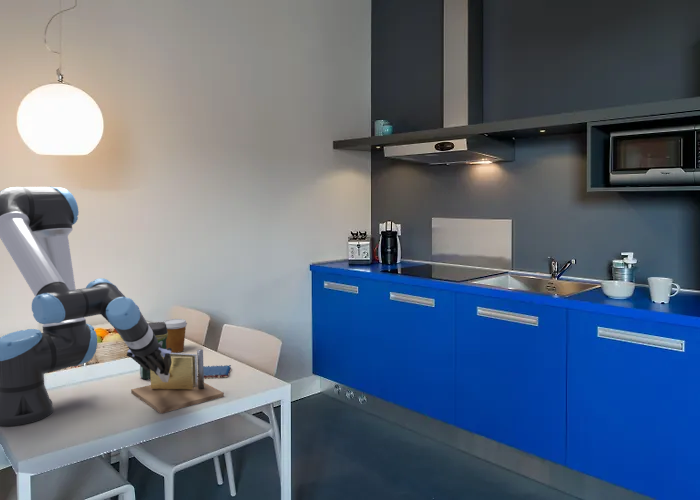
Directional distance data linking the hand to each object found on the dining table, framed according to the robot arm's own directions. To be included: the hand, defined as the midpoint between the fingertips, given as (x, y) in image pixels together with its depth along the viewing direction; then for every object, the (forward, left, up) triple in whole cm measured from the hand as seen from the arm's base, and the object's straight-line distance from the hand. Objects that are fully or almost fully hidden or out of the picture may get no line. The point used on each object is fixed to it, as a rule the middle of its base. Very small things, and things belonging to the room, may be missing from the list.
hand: (166, 378), depth 172 cm
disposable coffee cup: (-21, +46, -6) cm, 51 cm away
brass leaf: (+1, +2, -4) cm, 4 cm away
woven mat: (+6, +22, -6) cm, 24 cm away
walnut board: (+3, +1, -5) cm, 6 cm away
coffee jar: (-13, +16, -6) cm, 22 cm away
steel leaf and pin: (+2, +5, -5) cm, 8 cm away
